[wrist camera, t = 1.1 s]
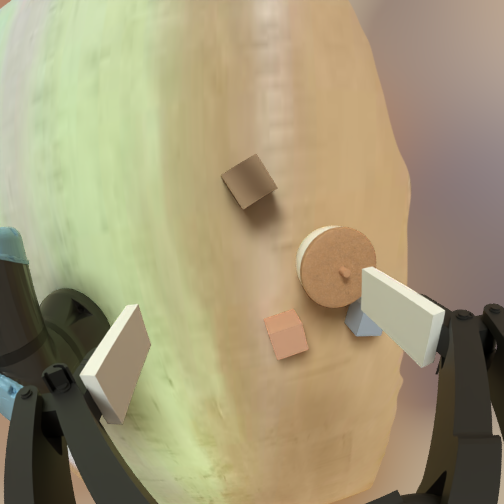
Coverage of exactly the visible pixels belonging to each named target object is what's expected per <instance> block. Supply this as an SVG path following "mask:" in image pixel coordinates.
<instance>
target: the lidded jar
mask: <svg viewBox="0 0 504 504" xmlns="http://www.w3.org/2000/svg"><path fill="white" fill-rule="evenodd" d="M368 267H374V268H376V255H375V250H374V248H373V246H372V244H371V242H370V240H369V239H368V238H367V237H366V236H365V235H364V234H362V233H361V232H359V231H357V230H355V229H352V228H348V227H342V226H325V227H321V228H319V229H316V230H314V231H313V232H311V233H310V234H309V235H308V236H307V237H306V238H305V239H304V240H303V241H302V243H301V245H300V247H299V249H298V251H297V255H296V271H297V275H298V278H299V281H300V283H301V284H302V286H303V288H304V290H305V291H306V293H307V294H308V296H309V297H310V298H311V299H312V300H313V301H314V302H316V303H317V304H319V305H321V306H324V307H329V308H339V307H344V306H347V305H349V304H351V303H353V302H355V301H356V300H357V299H359V298H360V297H361V295H362V269H363V268H368Z"/></svg>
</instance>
